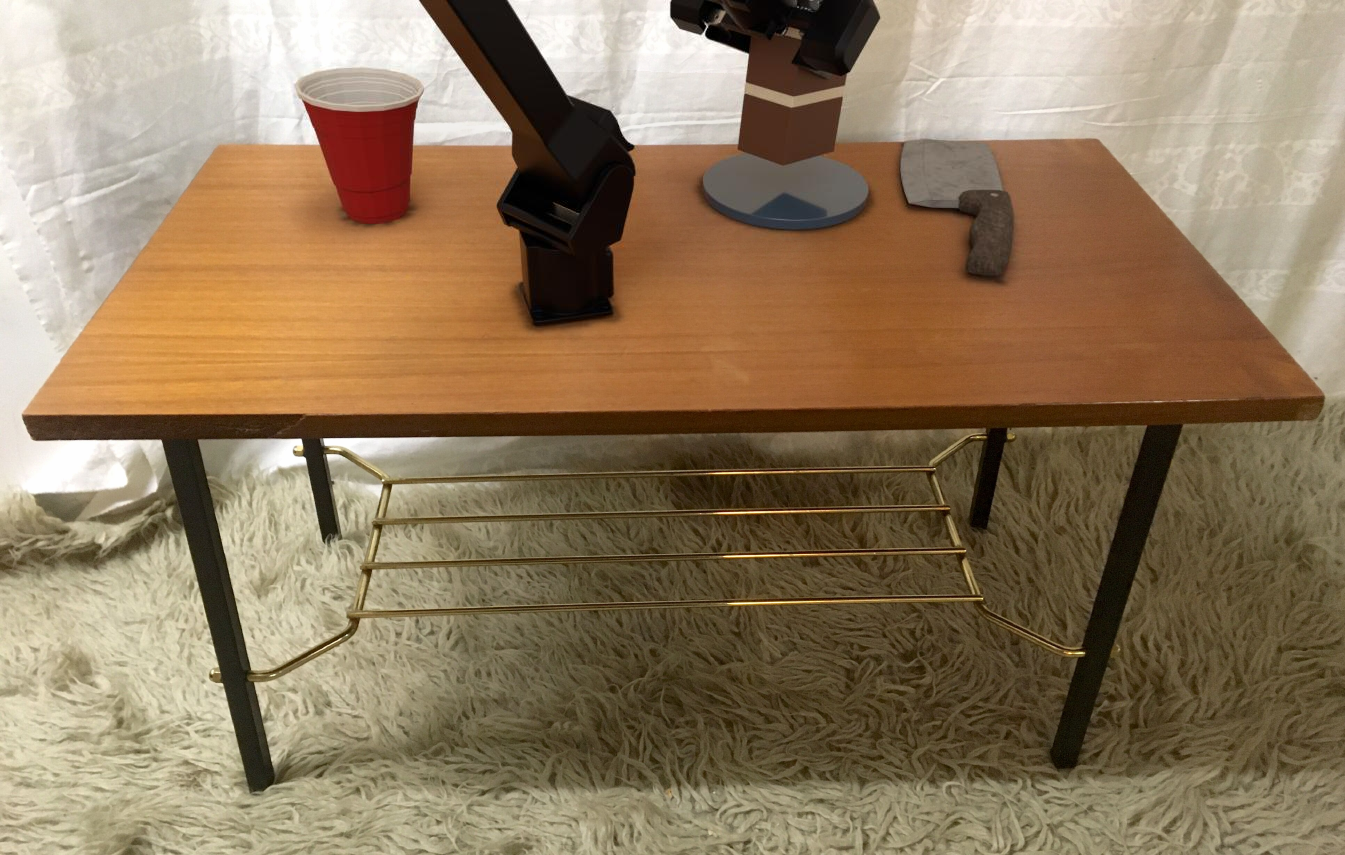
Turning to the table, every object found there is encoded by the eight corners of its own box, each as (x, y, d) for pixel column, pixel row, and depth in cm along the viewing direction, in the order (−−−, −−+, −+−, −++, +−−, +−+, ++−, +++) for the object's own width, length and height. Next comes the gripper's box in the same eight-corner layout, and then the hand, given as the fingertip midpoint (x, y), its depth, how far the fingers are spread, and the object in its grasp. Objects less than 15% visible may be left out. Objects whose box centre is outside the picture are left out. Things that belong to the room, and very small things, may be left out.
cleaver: (1030, 283, 89) (1035, 261, 88) (913, 275, 90) (917, 252, 89) (987, 150, 113) (991, 131, 112) (894, 144, 114) (897, 125, 112)
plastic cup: (458, 218, 97) (444, 88, 90) (344, 247, 92) (319, 113, 85) (410, 176, 105) (394, 53, 97) (302, 201, 100) (276, 74, 92)
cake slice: (783, 166, 96) (805, 15, 89) (736, 149, 99) (754, 2, 92) (834, 151, 101) (858, 8, 94) (788, 136, 104) (809, -4, 98)
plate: (734, 239, 95) (735, 229, 95) (681, 168, 107) (681, 158, 107) (896, 218, 99) (897, 208, 98) (827, 152, 111) (828, 143, 111)
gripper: (884, -113, 79) (936, 11, 92) (695, -146, 88) (766, -30, 102) (811, 18, 79) (873, 124, 92) (629, -30, 88) (709, 72, 102)
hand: (804, 67), depth 97 cm, fingers closed on cake slice, 5 cm apart
